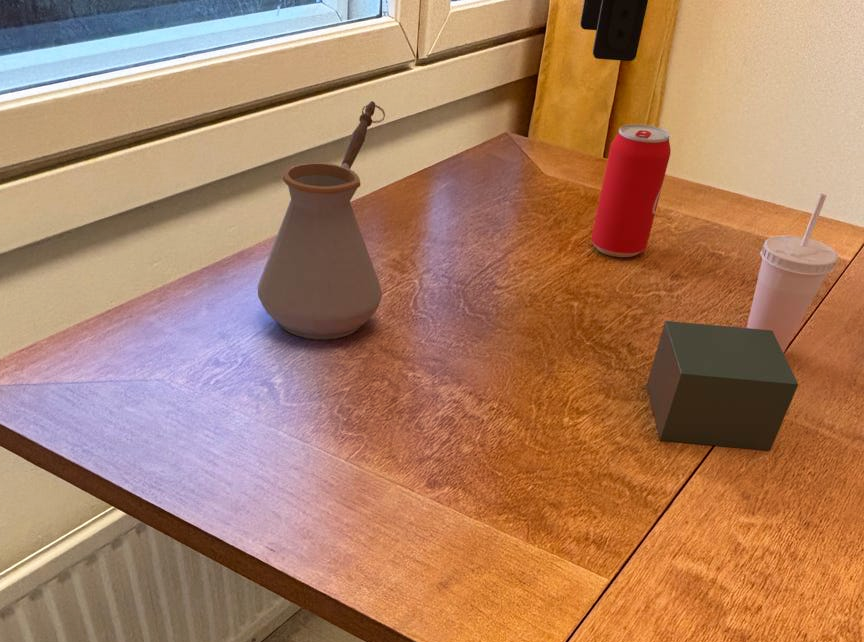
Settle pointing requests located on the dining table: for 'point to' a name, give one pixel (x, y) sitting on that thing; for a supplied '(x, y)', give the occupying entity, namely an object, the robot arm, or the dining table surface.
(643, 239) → the beverage can
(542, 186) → the dining table surface
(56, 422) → the dining table surface
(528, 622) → the dining table surface
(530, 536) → the dining table surface
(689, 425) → the riser block
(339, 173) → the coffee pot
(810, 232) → the smoothie
